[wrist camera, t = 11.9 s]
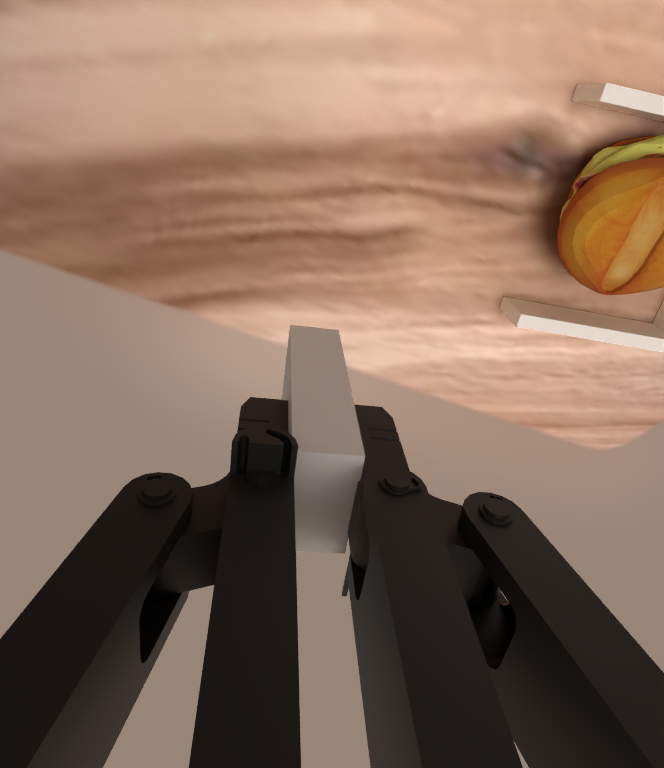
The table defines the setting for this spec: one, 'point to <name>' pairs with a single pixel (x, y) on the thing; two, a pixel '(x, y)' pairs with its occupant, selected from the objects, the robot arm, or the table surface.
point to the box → (582, 323)
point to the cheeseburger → (617, 219)
